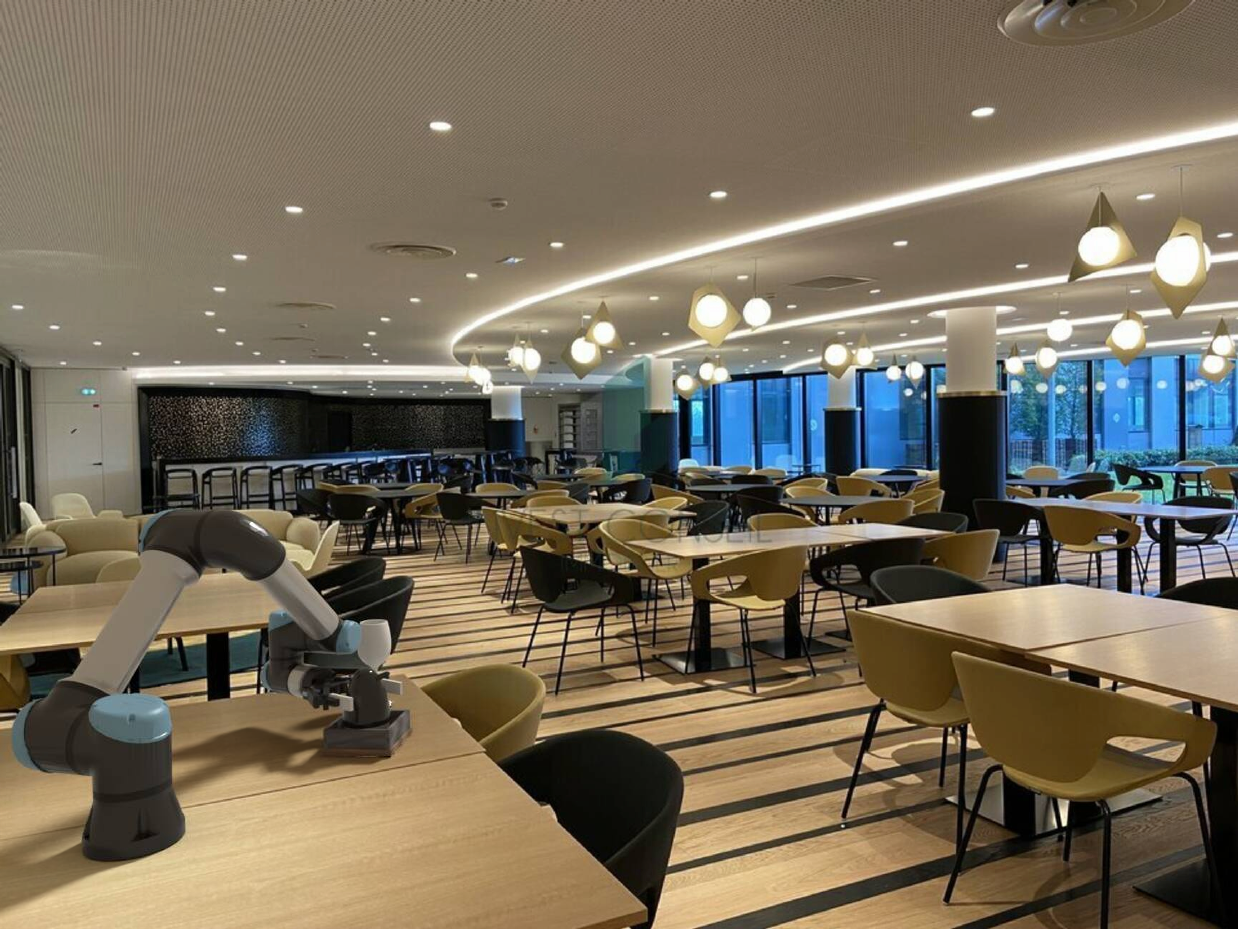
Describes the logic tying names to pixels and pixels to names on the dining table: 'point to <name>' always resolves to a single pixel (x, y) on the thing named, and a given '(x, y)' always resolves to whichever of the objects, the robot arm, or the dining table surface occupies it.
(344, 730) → the holder
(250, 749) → the dining table surface
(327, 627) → the robot arm
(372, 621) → the wineglass
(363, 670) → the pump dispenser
